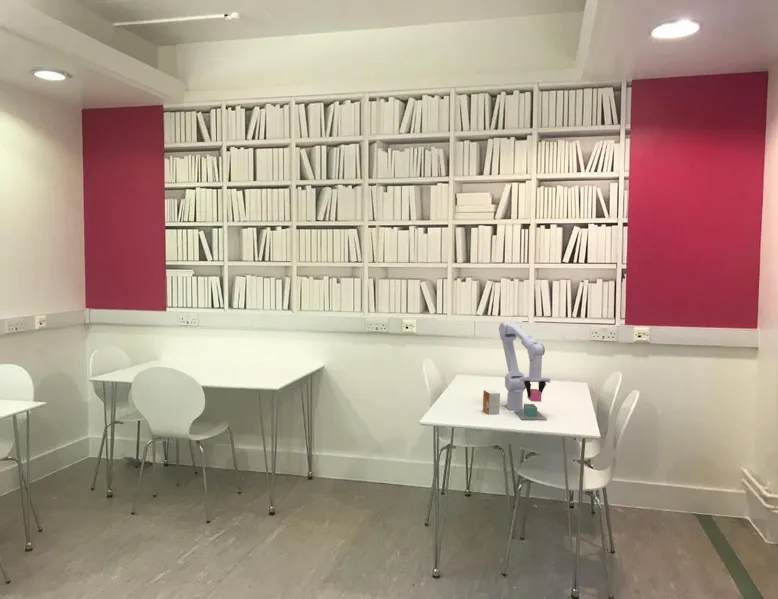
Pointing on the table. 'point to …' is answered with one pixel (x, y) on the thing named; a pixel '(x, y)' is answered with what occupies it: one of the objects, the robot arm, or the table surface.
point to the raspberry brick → (535, 395)
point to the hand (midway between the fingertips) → (534, 396)
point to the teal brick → (530, 410)
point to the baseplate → (524, 417)
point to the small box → (491, 401)
